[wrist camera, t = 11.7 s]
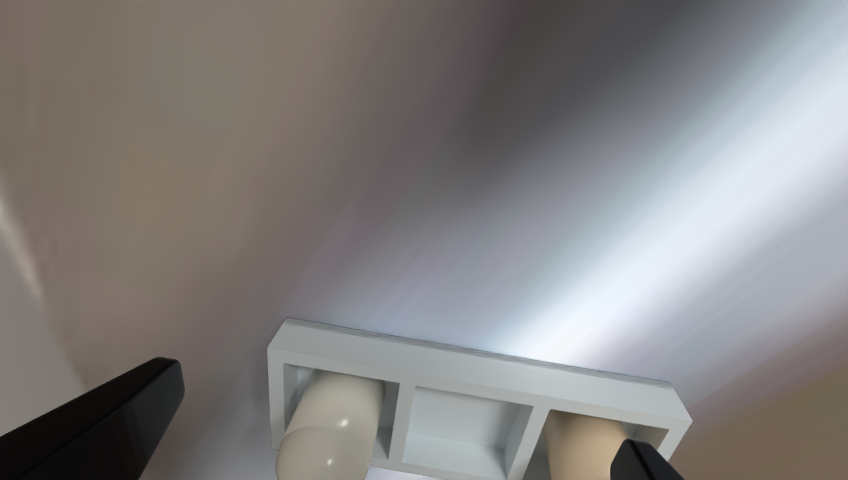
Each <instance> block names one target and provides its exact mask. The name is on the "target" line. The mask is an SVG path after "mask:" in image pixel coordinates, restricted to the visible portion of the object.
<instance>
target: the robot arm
mask: <svg viewBox="0 0 848 480" xmlns="http://www.w3.org/2000/svg"><path fill="white" fill-rule="evenodd" d="M184 391H185V387H184V381H183V375H182V369H181V364H180V362H179V361H178V360H176V359H170V358H164V357H157V358H154V359H152V360H150V361H148V362H146V363H144V364H142V365H140V366H138V367H136V368H134V369H132V370H130V371H128V372H126V373H124V374H122V375H120V376H118V377H116V378H114V379H112V380H110V381H108V382H106V383H104V384H102V385H100V386H99V387H97V388H95V389H93V390H91V391H89V392H87V393H85V394H83V395H81V396H79V397H77V398H75V399H73V400H71V401H69V402H67V403H65V404H63V405H61V406H59V407H57V408H55V409H53V410H51V411H50V412H48V413H46V414H44V415H42V416H40V417H38V418H36V419H34V420H32V421H30V422H28V423H26V424H24V425H22V426H20V427H18V428H16V429H14V430H12V431H10V432H8V433H6V434H5V435H3V436H1V437H0V480H138V479H139V478H140V476H141V475H142V473H143V471H144V469H145V468H146V466H147V464H148V462H149V461H150V459H151V457H152V455H153V453H154V451H155V450H156V448H157V446H158V444H159V442H160V440H161V438H162V437H163V435H164V433H165V431H166V429H167V427H168V426H169V424H170V422H171V420H172V418H173V416H174V415H175V413H176V411H177V409H178V407H179V405H180V403H181V402H182V399H183V397H184ZM610 479H611V480H684V479H683V478H682V477H681V475H680V474H679V473H678V472H677V471H676V470H675V469H674V468H673V467H672V466H671V465H670V464H669V463H668V462H667V461H666V460H665V459H664V458H663V456H662V455H661V454H660V453H659V452H658V451H657V450H656V449H655V448H654V447H653V446H652V445H651V444H650V443H648V442H646V441H643V440H638V439H632V438H626V439H625V440H623V442H622V444H621V446H620V447H619V449H618V451H617V453H616V455H615V457H614V459H613V461H612V463H611V466H610Z"/></svg>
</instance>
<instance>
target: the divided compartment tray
mask: <svg viewBox="0 0 848 480" xmlns="http://www.w3.org/2000/svg"><path fill="white" fill-rule="evenodd" d="M267 355H268V379H269V403H270V428H271V449H276V450H278V449H279V446H280V443H281V441H282V439H283V437H284V434H285V432H286V430H287V428H288V426H289V423H290V421H291V419H292V417H293V415H294V412H295V410H296V408H297V406H298V404H299V402H300V399H301V397H302V395H303V393H304V391H305V388H306V386H307V384H308V382H309V380H310V377H311V375H312V373H313V371H314V369H321V370H327V371H333V372H339V373H345V374H350V375H356V376H362V377H368V378H374V379H379V380H384V383H385V387H386V393H385V398H384V402H383V407H382V411H381V416H380V420H379V425H378V429H377V433H376V438H375V442H374V447H373V451H372V456H371V460H370V465H369V466H372V467H378V468H384V469H389V470H395V471H401V472H407V473H412V474H418V475H424V476H429V477H435V478H441V479H446V480H552V479H551V474H550V468H549V463H548V458H547V453H546V448H545V443H544V437H543V432H542V428H543V425H544V423H545V420H546V418H547V415H548V412H549V411H550V410H551V409H554V410H560V411H566V412H571V413H577V414H583V415H589V416H595V417H600V418H606V419H612V420H618V421H622V423H623V425H624V428H625V430H626V433H627V435H628V438H632V439H638V440H643V441H646V442H648V443H650V444H651V445H652V446H653V447H654V448H655V449H656V450H657V451H658V452H659V453H660V454H661V455H662V456H663V458H664V459H665V460H666V461H668V460H669V458H670V457H671V455H672V453H673V452H674V450H675V449H676V447H677V445H678V444H679V442H680V441H681V439H682V437H683V436H684V434H685V432H686V431H687V429H688V428H689V426H690V424H691V423H692V419H691V418H690V416H689V414H688V412H687V411H686V409H685V407H684V406H683V404H682V402H681V401H680V399H679V397H678V396H677V394H676V392H675V390H674V389H673V387H672V385H671V384H670V383H668V382H662V381H656V380H650V379H645V378H639V377H633V376H627V375H621V374H615V373H609V372H603V371H597V370H592V369H586V368H580V367H574V366H568V365H562V364H556V363H550V362H544V361H539V360H533V359H527V358H521V357H515V356H509V355H503V354H497V353H491V352H486V351H480V350H474V349H468V348H462V347H456V346H450V345H444V344H438V343H433V342H427V341H421V340H415V339H409V338H403V337H397V336H391V335H385V334H380V333H374V332H368V331H362V330H356V329H350V328H344V327H338V326H332V325H327V324H321V323H315V322H309V321H303V320H297V319H291V318H286V319H285V321H284V323H283V324H282V326H281V327H280V329H279V330H278V332H277V334H276V335H275V337H274V338H273V340H272V341H271V343H270V345H269V346H268V348H267Z"/></svg>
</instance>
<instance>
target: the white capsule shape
mask: <svg viewBox="0 0 848 480" xmlns="http://www.w3.org/2000/svg"><path fill="white" fill-rule="evenodd" d="M385 393H386V387H385V383H384V380H379V379H374V378H368V377H362V376H356V375H350V374H345V373H339V372H333V371H327V370H321V369H314V371H313V373H312V375H311V377H310V380H309V382H308V384H307V386H306V388H305V391H304V393H303V395H302V397H301V399H300V402H299V404H298V406H297V408H296V410H295V412H294V415H293V417H292V419H291V421H290V423H289V426H288V428H287V430H286V432H285V434H284V437H283V439H282V441H281V443H280V446H279V449H278V452H277V457H276V477H277V480H365V478H366V476H367V473H368V469H369V465H370V460H371V456H372V451H373V447H374V442H375V438H376V433H377V429H378V425H379V420H380V416H381V411H382V407H383V402H384V398H385Z"/></svg>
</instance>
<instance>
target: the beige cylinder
mask: <svg viewBox="0 0 848 480" xmlns="http://www.w3.org/2000/svg"><path fill="white" fill-rule="evenodd" d="M542 432H543V437H544V443H545V448H546V453H547V458H548V463H549V468H550V474H551V479H552V480H611V479H610V466H611V463H612V461H613V459H614V457H615V455H616V453H617V451H618V449H619V447H620V446H621V444H622V442H623V440H625V439H626V438H628V435H627V433H626V430H625V428H624V425H623V423H622V421H618V420H612V419H606V418H600V417H595V416H589V415H583V414H577V413H571V412H566V411H560V410H554V409H551V410H550V411H549V412H548V415H547V418H546V420H545V423H544V425H543V428H542Z"/></svg>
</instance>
